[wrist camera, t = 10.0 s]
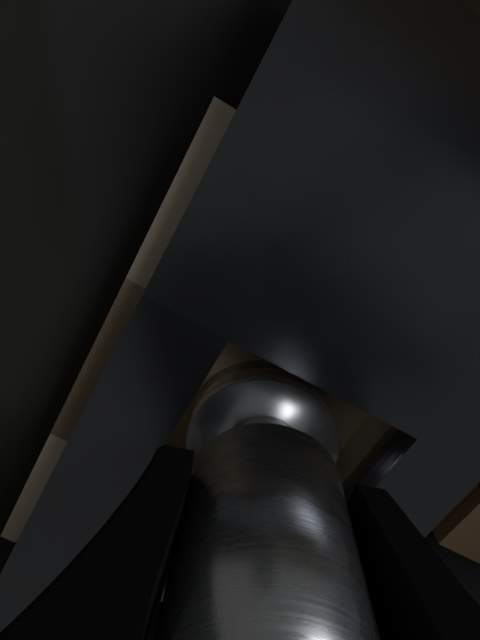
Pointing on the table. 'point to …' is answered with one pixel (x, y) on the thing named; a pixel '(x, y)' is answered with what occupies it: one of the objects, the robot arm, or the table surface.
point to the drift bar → (310, 270)
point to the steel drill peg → (265, 519)
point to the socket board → (352, 423)
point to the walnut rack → (462, 527)
